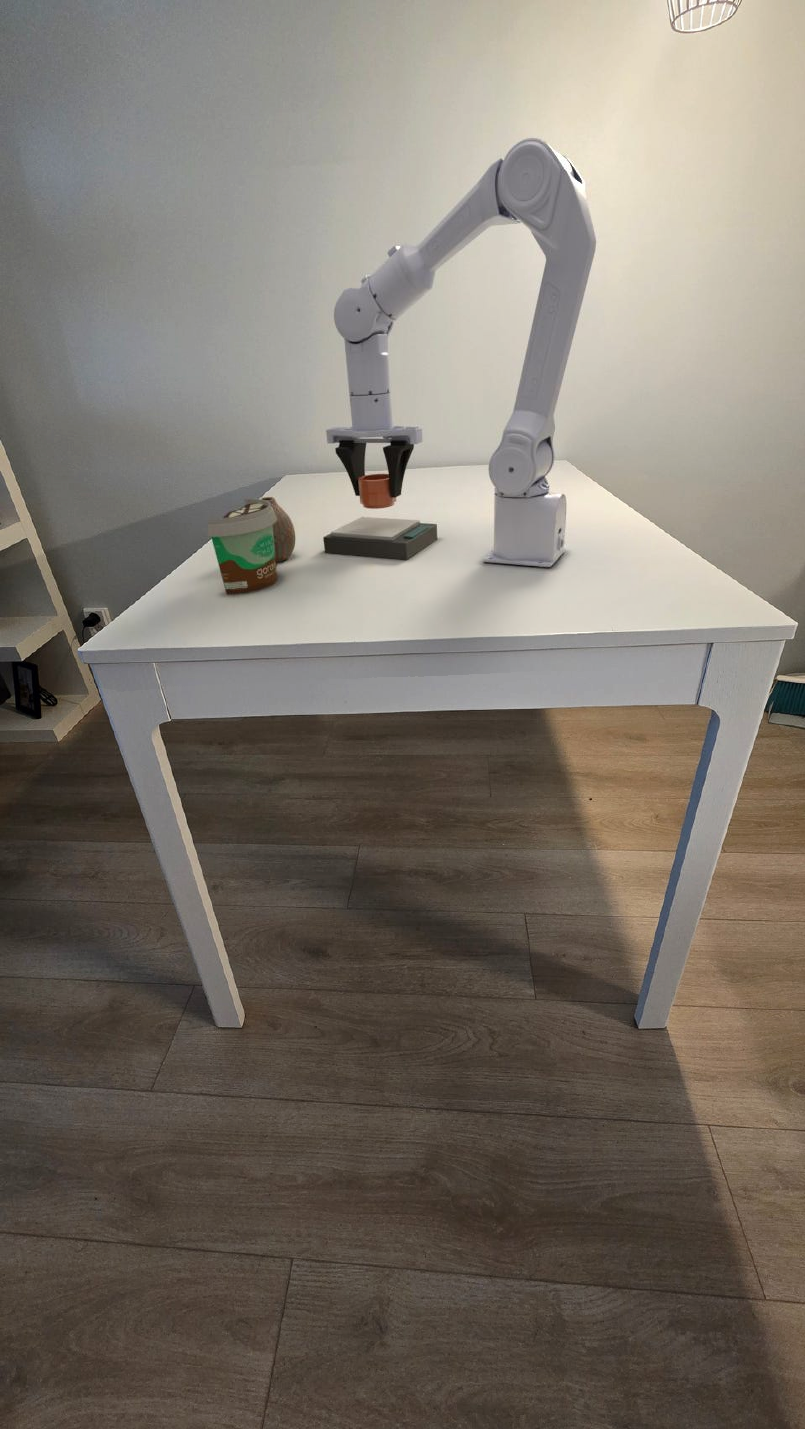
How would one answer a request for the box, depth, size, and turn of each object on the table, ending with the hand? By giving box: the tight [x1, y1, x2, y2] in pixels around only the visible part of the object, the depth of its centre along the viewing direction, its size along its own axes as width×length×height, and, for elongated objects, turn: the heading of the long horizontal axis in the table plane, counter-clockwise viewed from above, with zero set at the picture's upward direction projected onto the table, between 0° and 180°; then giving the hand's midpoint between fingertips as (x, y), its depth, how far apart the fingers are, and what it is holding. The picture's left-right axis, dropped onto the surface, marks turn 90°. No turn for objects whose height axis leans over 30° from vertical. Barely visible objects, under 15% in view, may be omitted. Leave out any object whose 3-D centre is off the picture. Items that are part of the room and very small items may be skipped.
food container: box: [206, 497, 278, 595], centre depth 85 cm, size 12×6×10 cm, turn 168°
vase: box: [259, 496, 296, 563], centre depth 95 cm, size 7×7×9 cm
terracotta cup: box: [358, 473, 397, 510], centre depth 95 cm, size 5×6×4 cm
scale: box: [322, 516, 438, 561], centre depth 99 cm, size 14×11×3 cm
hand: (377, 495), depth 96 cm, fingers closed on terracotta cup, 5 cm apart
